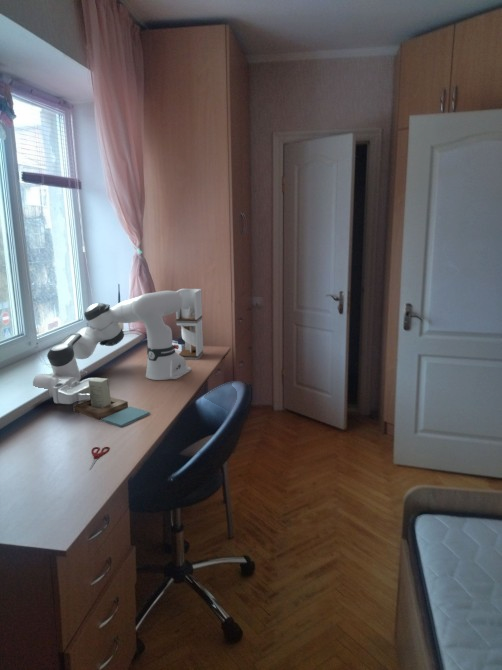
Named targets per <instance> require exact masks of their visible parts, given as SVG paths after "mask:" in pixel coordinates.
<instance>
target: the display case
mask: <svg viewBox="0 0 502 670" xmlns="http://www.w3.org/2000/svg"><path fill="white" fill-rule="evenodd" d="M176 292H178V293H179V294H180V296H181V298H182V307H181V309H180V310H178V311H177V312H175V317H176V318H175V319H176V321H175V322H176V323H175V324H176V326H180V327H181V329H180V331H181V338H182V340H183V341H184V345H185V347H184V348H185V349H183V350H181V352H179V353H178V354H179V355H180V356H182V357H183V358H184V359H185V360H196V361H197V360H199V359H200V358H201V357H202V356H203V354H204V341H203V340H204V339H203V338H204V337H203V336H204V335H203V305H202V304H203V299H202V288H180V289H178V290H176Z"/></svg>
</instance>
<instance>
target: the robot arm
mask: <svg viewBox="0 0 502 670" xmlns="http://www.w3.org/2000/svg"><path fill="white" fill-rule="evenodd" d="M176 291H177V290H176ZM176 291H175V290H167V289H166V290H162V291H156V292H148V293H143V294H141V295H139V296H136V297H132V298H129V299H125V300H122V301H120V302H118V303H117V304H115V305H114V306H112V307H110V306H111V305H110V304H108V303H106V304H105V303H102V302H97V303H93V304H91V305H89V306H88V307H87V308H86V309H85V311H84V317H85V319H86V321H87V322H88V324H89V325H90V327H89V326H84V327H82V328H80V329H79V330H78V331H76V333H71V334H68V335H67V336H65V337H64V339H62V340H61V341H60V342H59V343H58V344H56V345H54V346H52V347H51V348H50V349H49V350H48V352H47V354H46V357H47V359H48V361H49V364H50V366H51V370H52V372H51V373H39V374H36V375H35V376H34V378H33V380H32V387H33V386H35V387H38V388H44V389H48V390H49V395H50V398H53V399H52V400H53V402H54V404H63V405H72V404H74V403H76V402H77V401H81V400H90V399H91V398H92V394H90V389H89V380H91V379H93V378H94V377H88V378H87V377H86V378H85V379H82V377H81V372H80V369H79V366H78V362H77V360H86V359H89V358H90V357H92V355H93V354H94V352H95V351H96V349H97V348H96V347H97V346H98V344H99V345H100V346H107V347H113V346H116V345H117V344H119V343H120V342H121V341H123V339H124V336H125V334H124V331H123V329H122V328H121V327H120V324H130V323H131V324H132V323H137V322H141V321H142V323H143V326H144V327H145V331H146V338H147V341H146V342H147V346H146V354H147V360H146V370H145V373H146V374H145V378H146V379H149V380H153V381H154V380H155V381H165V380H177V379H179V378H181V377H182V376H184V375H185V374H187V373H189V372H191V371H192V368H191V367H190V366H188V365H187V362H186V359H184V358H183V357H182V356H180V355H179V353H178V352H176V350H179V348H180V345H179V344H173V330H172V328H171V327H170V326H169V325H168V324H165V321H164V319H163V318H164V316H169V315H173V314H176V312H177V311H178V310H180V309H181V307H182V298H181V296H180V294H179V293H178V292H176ZM81 379H82V380H81Z"/></svg>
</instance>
